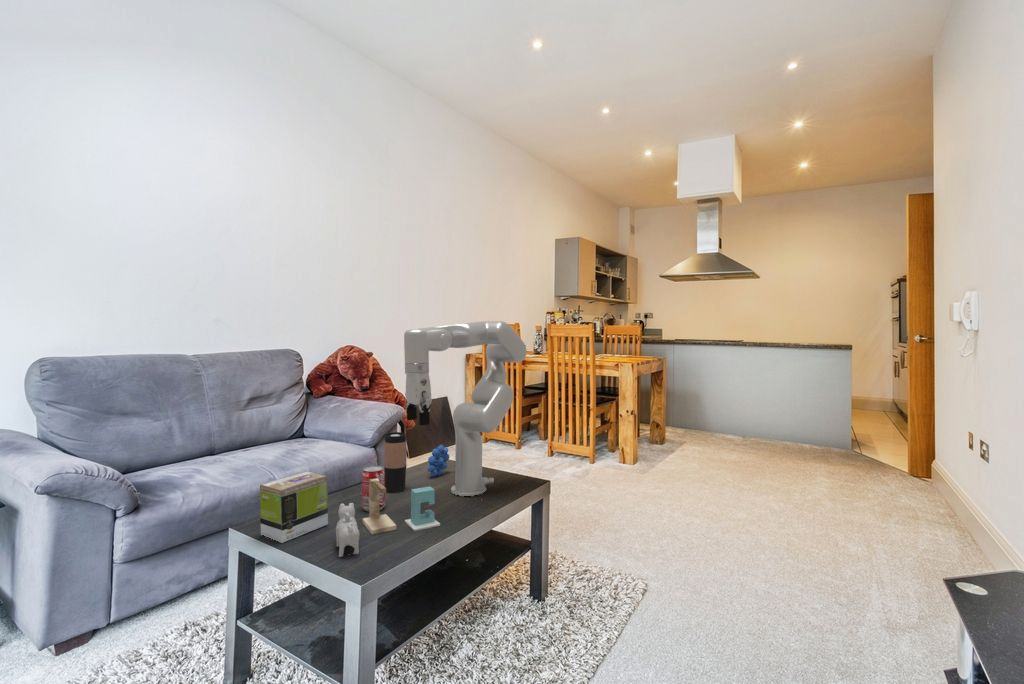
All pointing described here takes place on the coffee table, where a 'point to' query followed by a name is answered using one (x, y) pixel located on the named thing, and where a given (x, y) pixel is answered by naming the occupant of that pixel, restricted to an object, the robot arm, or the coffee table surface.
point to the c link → (416, 498)
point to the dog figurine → (347, 529)
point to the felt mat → (423, 526)
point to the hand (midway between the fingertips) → (418, 422)
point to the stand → (377, 510)
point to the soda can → (367, 474)
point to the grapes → (438, 460)
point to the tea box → (293, 506)
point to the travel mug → (395, 461)
